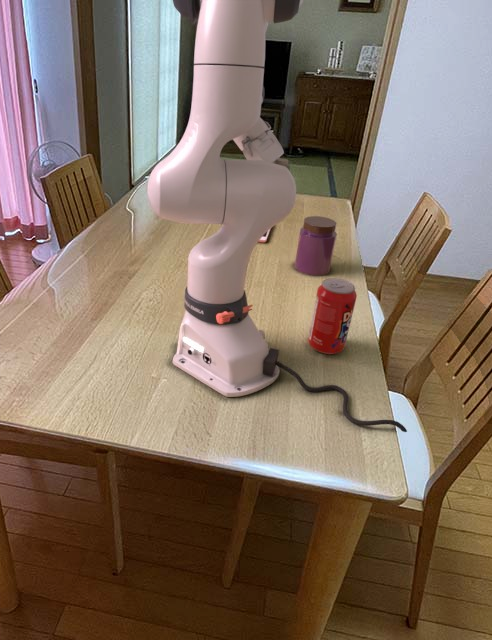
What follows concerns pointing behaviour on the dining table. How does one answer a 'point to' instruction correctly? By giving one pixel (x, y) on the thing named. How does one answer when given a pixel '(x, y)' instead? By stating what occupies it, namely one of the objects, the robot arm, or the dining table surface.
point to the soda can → (332, 315)
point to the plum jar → (316, 245)
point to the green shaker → (283, 163)
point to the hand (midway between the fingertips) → (282, 177)
